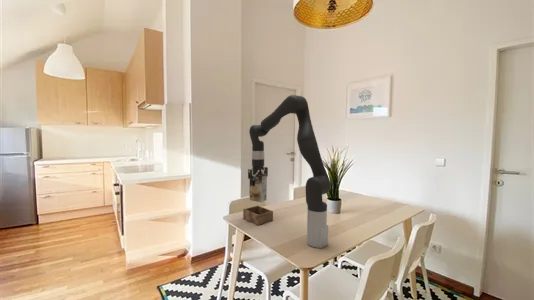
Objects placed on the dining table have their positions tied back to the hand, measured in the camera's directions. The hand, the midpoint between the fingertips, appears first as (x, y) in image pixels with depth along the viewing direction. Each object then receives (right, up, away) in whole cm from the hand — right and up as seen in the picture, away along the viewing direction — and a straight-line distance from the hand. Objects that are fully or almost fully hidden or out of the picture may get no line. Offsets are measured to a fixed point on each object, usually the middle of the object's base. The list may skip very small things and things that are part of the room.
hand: (258, 184), depth 147 cm
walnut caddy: (0, -22, +2) cm, 22 cm away
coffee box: (0, -10, +1) cm, 10 cm away
